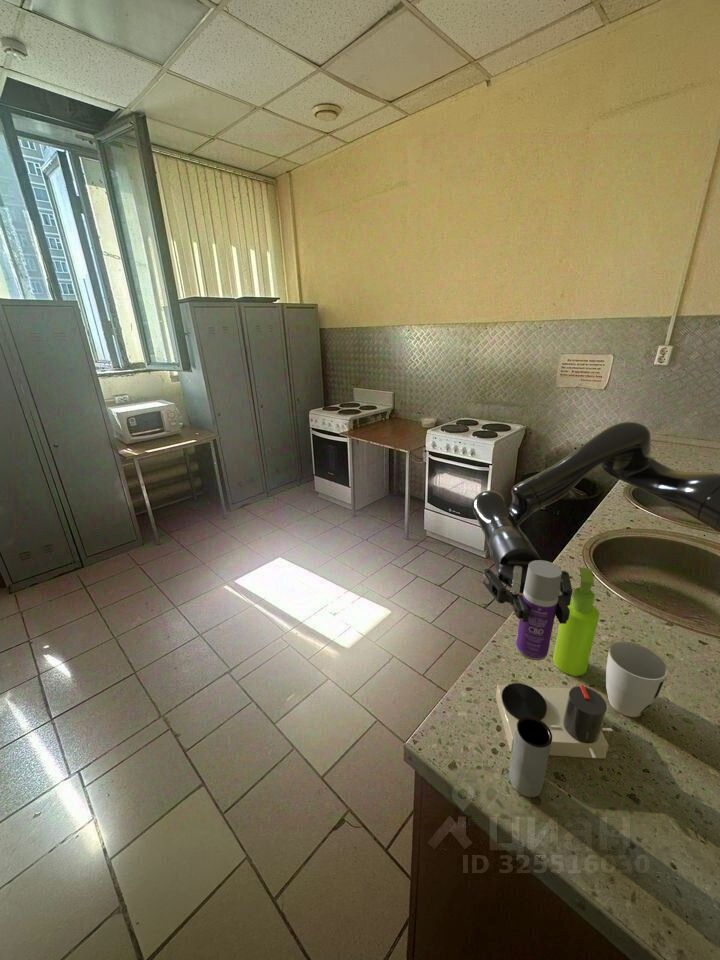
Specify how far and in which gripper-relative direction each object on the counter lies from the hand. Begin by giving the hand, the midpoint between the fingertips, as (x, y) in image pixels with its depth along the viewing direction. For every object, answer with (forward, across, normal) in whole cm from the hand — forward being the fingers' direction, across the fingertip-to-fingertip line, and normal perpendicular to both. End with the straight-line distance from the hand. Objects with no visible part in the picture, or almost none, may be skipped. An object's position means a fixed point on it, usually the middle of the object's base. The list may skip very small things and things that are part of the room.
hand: (545, 617), depth 56 cm
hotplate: (-2, 0, +20) cm, 20 cm away
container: (-3, 0, +9) cm, 9 cm away
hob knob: (+2, +7, +20) cm, 21 cm away
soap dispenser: (-15, +13, +23) cm, 30 cm away
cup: (-6, +18, +23) cm, 30 cm away
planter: (+8, -2, +23) cm, 24 cm away
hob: (0, +4, +23) cm, 23 cm away
